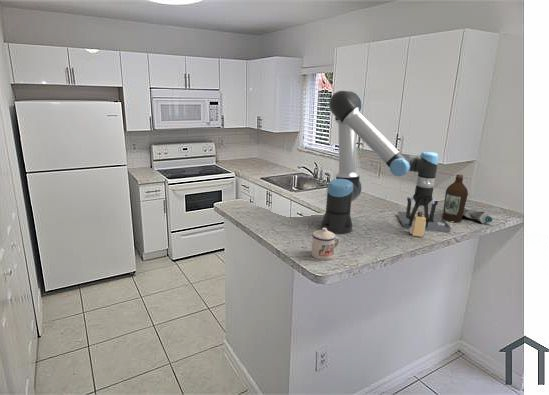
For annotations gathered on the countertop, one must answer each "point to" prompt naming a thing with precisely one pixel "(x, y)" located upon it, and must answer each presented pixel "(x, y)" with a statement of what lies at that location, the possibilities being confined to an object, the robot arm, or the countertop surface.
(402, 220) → the socket plate
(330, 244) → the teacup with lid
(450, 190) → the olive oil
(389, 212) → the countertop surface
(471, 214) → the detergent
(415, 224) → the plug
